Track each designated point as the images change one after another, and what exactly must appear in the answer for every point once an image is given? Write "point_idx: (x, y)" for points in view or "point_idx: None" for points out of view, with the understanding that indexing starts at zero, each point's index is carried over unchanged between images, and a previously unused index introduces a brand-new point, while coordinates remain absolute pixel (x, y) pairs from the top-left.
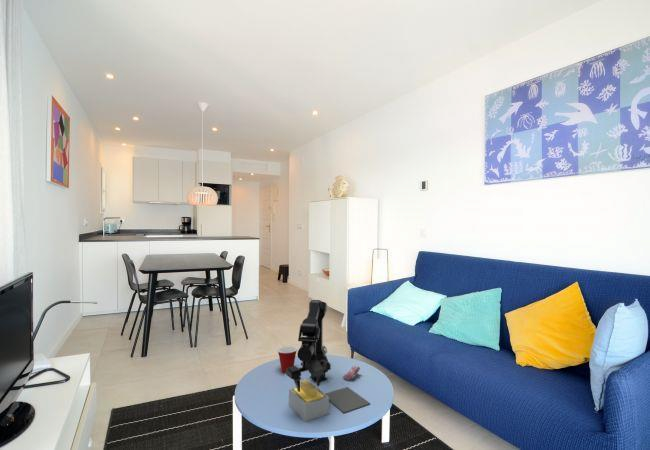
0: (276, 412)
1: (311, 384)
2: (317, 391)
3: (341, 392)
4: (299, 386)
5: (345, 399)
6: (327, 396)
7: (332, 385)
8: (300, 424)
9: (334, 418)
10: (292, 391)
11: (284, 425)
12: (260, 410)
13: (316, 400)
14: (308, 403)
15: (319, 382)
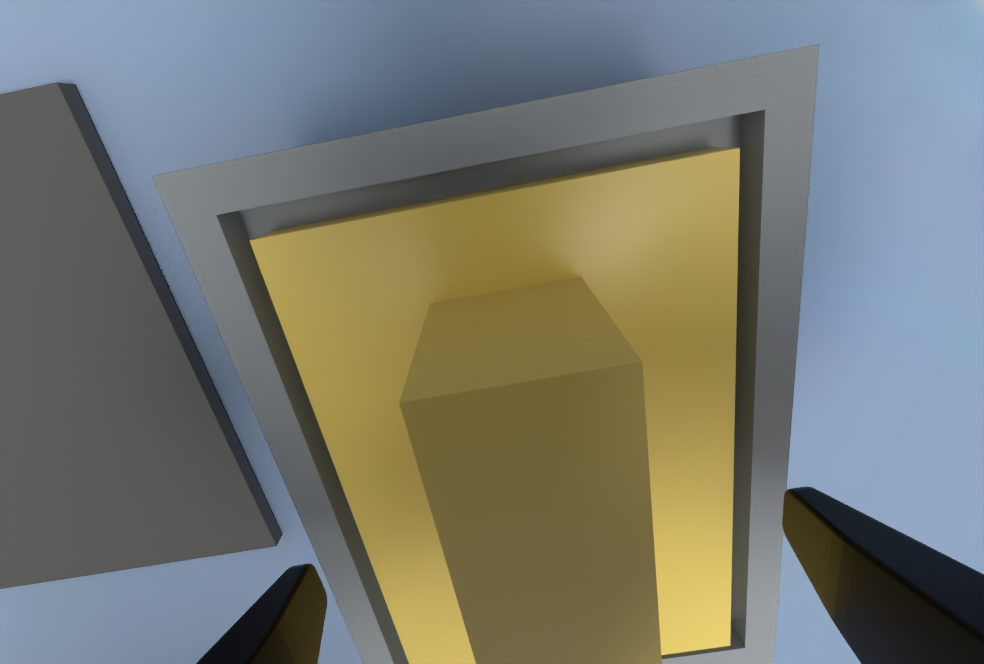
0: (865, 397)
1: (495, 614)
2: (358, 468)
3: (42, 521)
4: (946, 587)
5: (1, 377)
6: (181, 231)
7: (138, 655)
8: (748, 47)
9: (239, 10)
10: (771, 587)
11: (938, 106)
12: (980, 475)
13: (488, 143)
14: (727, 69)
15: (235, 647)
